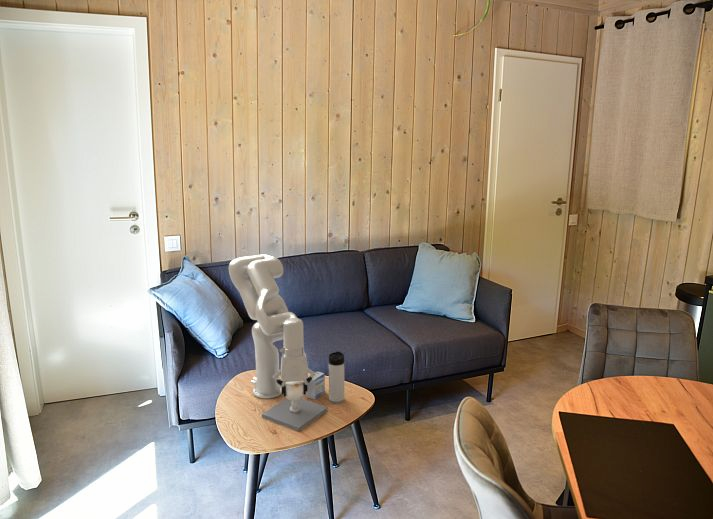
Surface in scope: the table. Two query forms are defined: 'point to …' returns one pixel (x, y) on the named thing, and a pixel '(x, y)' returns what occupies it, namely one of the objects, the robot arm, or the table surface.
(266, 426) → the table surface
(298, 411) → the post base
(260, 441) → the table surface
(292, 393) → the cap
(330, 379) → the travel mug
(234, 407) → the table surface
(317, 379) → the medicine box
